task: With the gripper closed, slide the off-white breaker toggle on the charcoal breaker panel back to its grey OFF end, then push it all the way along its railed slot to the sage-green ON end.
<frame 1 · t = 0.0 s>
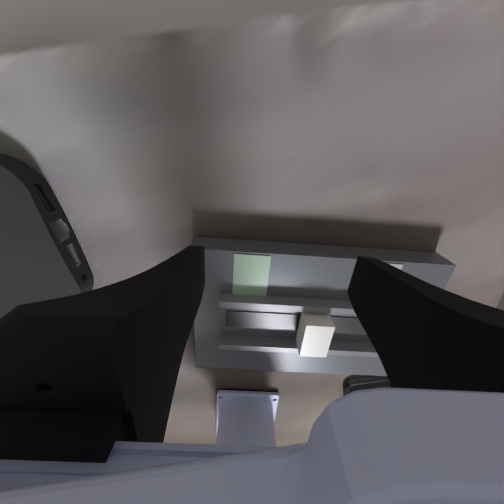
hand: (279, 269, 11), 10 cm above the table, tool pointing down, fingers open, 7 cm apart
phone: (399, 386, 32), on the table
media streaming box: (3, 241, 22), on the table
breaker toggle: (313, 333, 22), point 4 cm above the table, slide at 0.0 cm
breaker panel: (305, 305, 25), on the table
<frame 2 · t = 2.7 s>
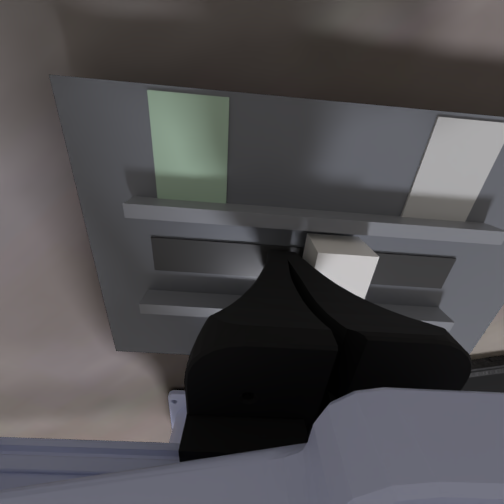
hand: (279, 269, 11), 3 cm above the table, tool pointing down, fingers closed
phone: (444, 386, 21), on the table
breaker toggle: (330, 280, 11), point 4 cm above the table, slide at -0.5 cm, touching gripper
breaker panel: (303, 243, 14), on the table
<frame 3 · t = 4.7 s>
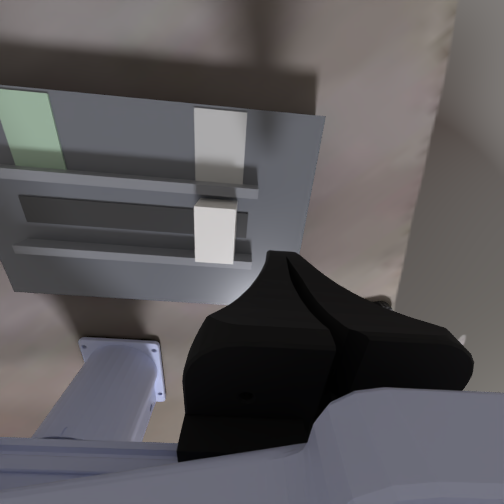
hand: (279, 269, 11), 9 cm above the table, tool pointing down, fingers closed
breaker toggle: (216, 231, 15), point 4 cm above the table, slide at -5.1 cm
breaker panel: (157, 207, 19), on the table
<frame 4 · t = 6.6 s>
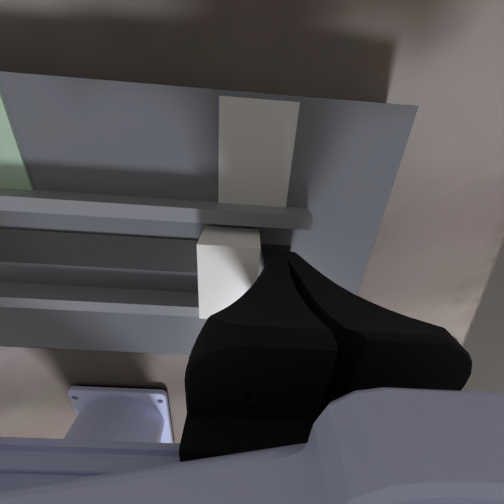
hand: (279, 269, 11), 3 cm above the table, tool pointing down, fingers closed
breaker toggle: (229, 273, 11), point 4 cm above the table, slide at -4.2 cm, touching gripper
breaker panel: (163, 234, 14), on the table
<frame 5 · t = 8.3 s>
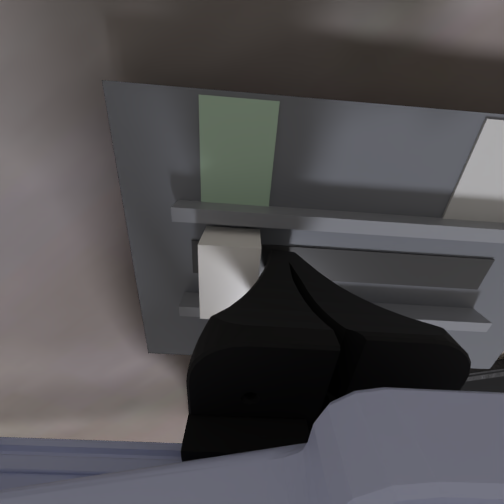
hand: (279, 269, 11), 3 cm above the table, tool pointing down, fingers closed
phone: (467, 386, 21), on the table
breaker toggle: (230, 273, 11), point 4 cm above the table, slide at 6.0 cm, touching gripper
breaker panel: (335, 245, 14), on the table
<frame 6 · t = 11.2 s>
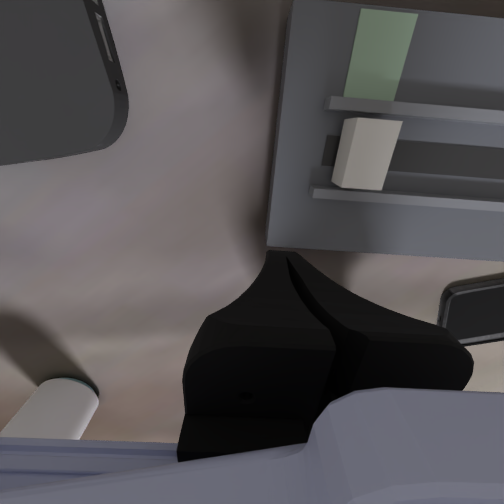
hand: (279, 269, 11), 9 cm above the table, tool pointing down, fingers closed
breaker toggle: (362, 154, 14), point 4 cm above the table, slide at 6.1 cm
breaker panel: (420, 156, 18), on the table
can: (73, 390, 30), on the table
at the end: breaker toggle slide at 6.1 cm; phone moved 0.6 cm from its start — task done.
